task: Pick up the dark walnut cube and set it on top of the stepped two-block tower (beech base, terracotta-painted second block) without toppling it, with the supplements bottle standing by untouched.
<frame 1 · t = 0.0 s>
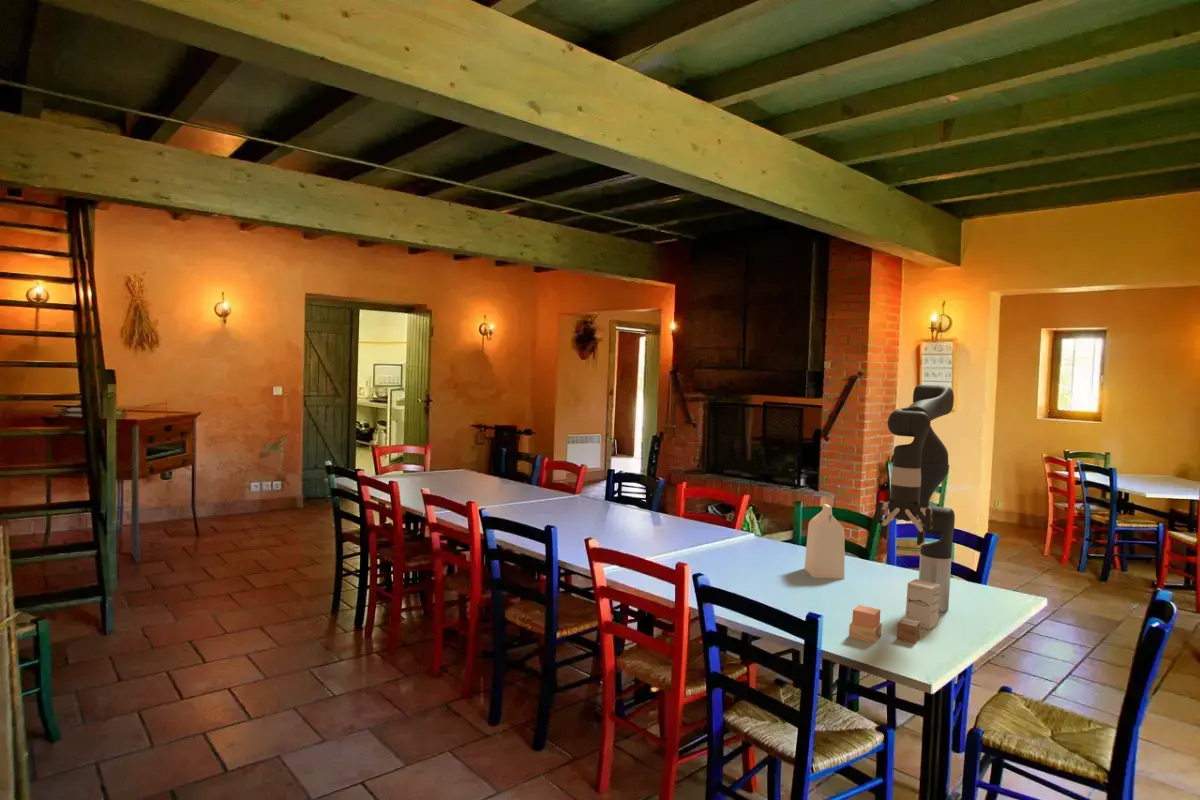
hand: (902, 542, 191), 29 cm above the table, fingers open, 8 cm apart
walnut cube: (908, 639, 199), on the table
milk: (824, 574, 264), on the table
supplement box: (921, 624, 212), on the table
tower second: (865, 623, 199), point 4 cm above the table, touching tower base
tower base: (865, 637, 200), on the table, touching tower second
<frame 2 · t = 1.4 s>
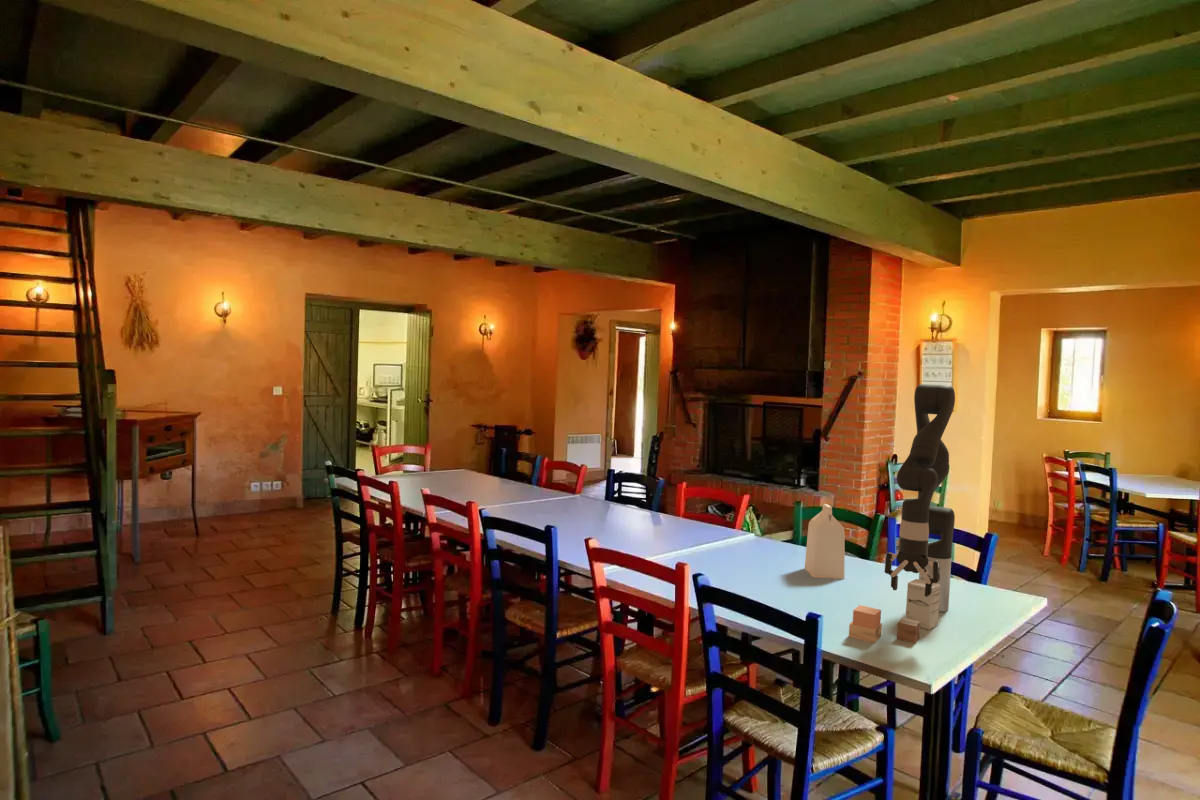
hand: (910, 592, 198), 13 cm above the table, fingers open, 8 cm apart
nothing on the table moved.
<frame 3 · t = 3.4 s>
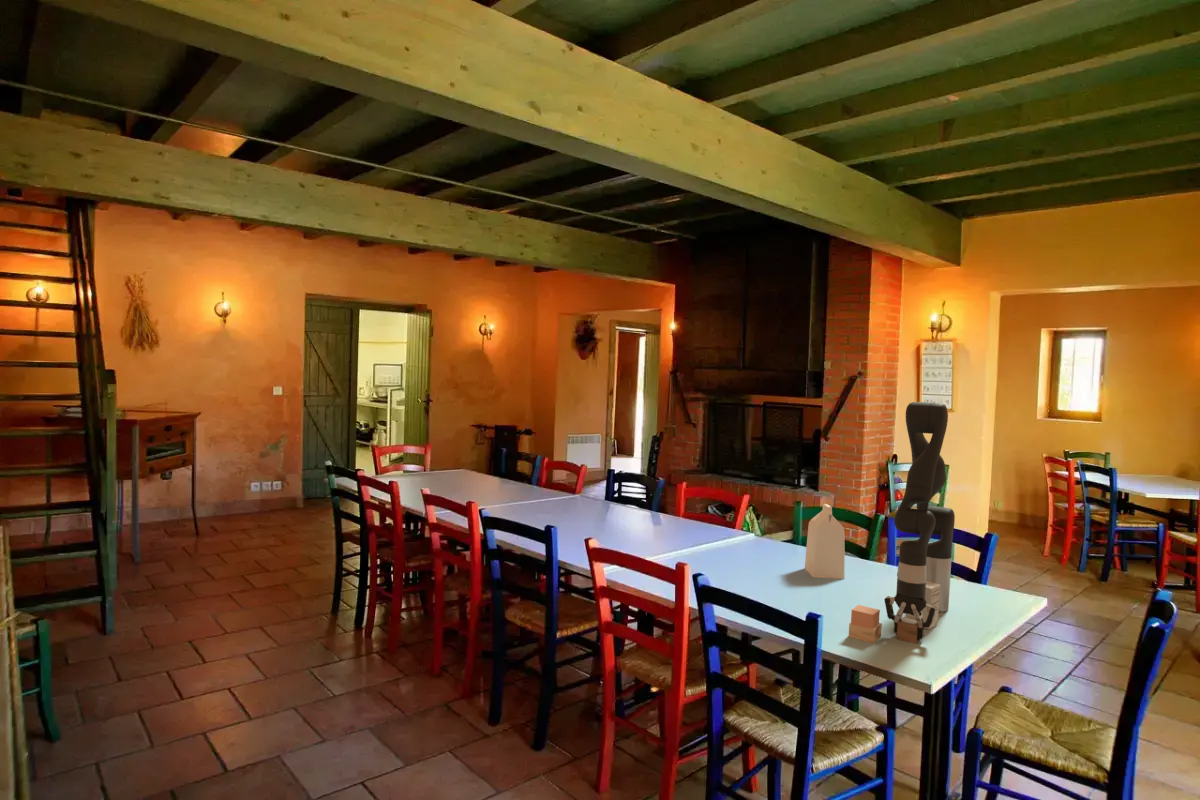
hand: (908, 637, 199), 0 cm above the table, fingers closed on walnut cube, 5 cm apart
walnut cube: (908, 638, 199), on the table, touching gripper
everything else where it was.
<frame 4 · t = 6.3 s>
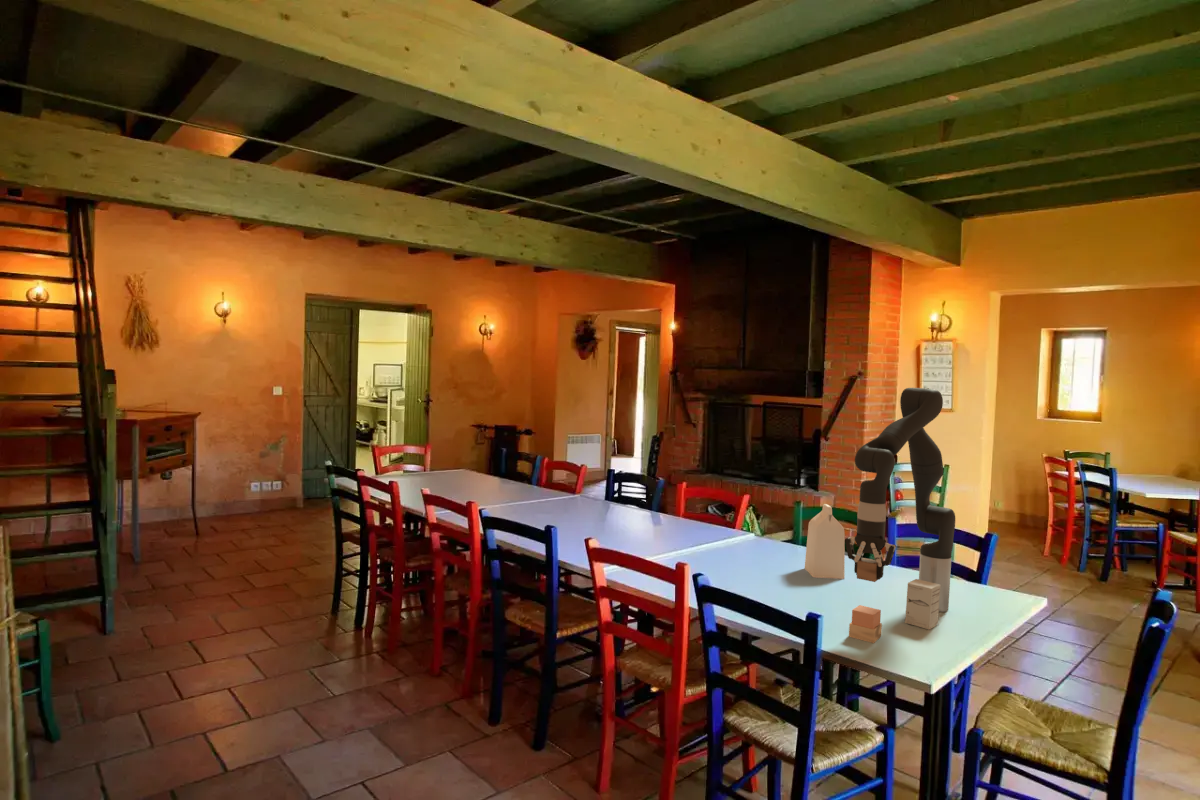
hand: (868, 576, 199), 17 cm above the table, fingers closed on walnut cube, 5 cm apart
walnut cube: (868, 578, 199), point 17 cm above the table, touching gripper
everything else where it was.
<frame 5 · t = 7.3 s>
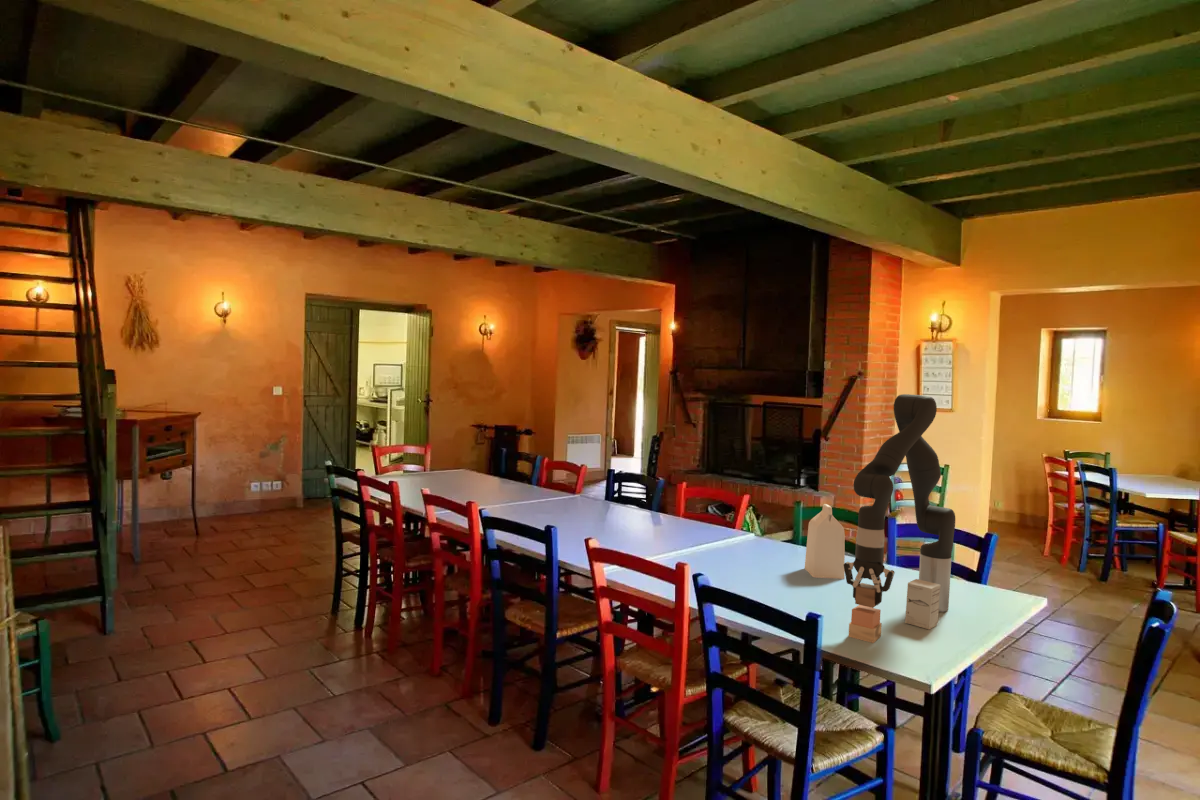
hand: (866, 601, 199), 10 cm above the table, fingers closed on walnut cube, 5 cm apart
walnut cube: (866, 603, 199), point 9 cm above the table, touching gripper
everything else where it was.
when the fingers open (9 cm above the table, at t = 7.8 s): walnut cube drops 1 cm, resting on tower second.
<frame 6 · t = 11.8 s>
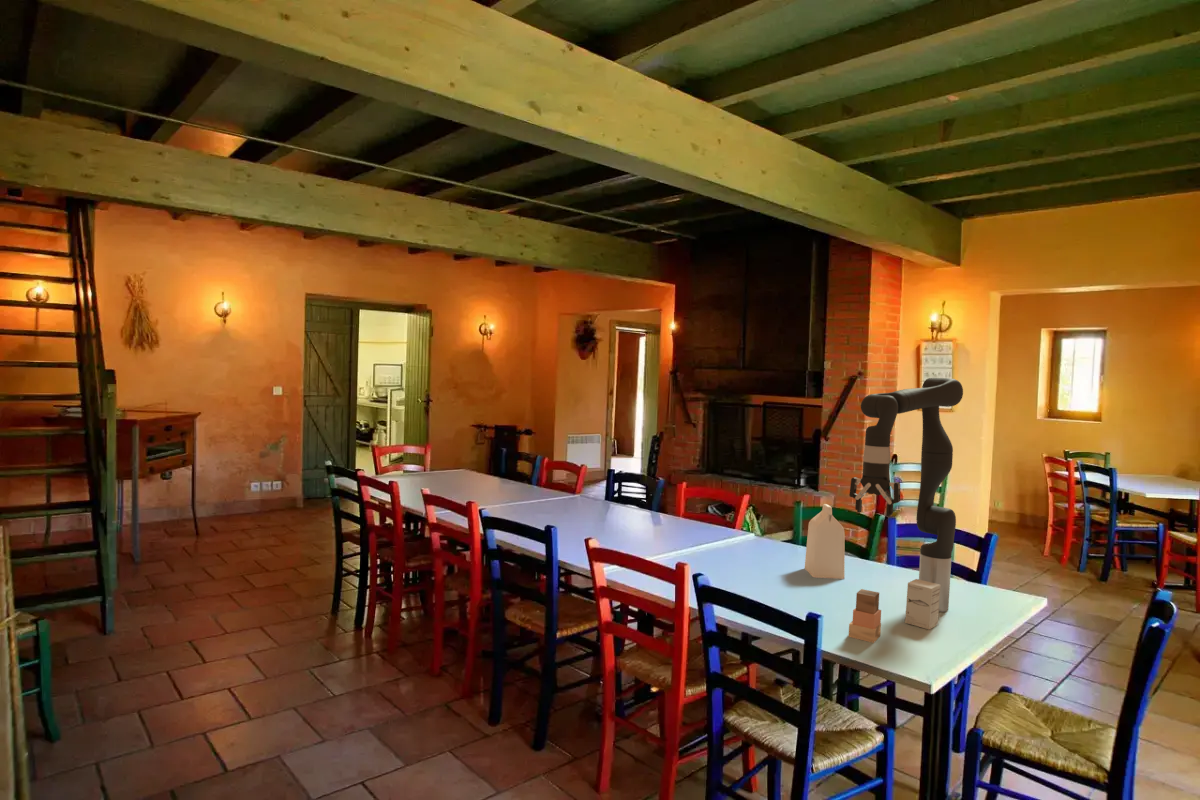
hand: (873, 514, 211), 33 cm above the table, fingers open, 8 cm apart
walnut cube: (867, 610, 199), point 8 cm above the table, touching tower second
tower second: (866, 623, 199), point 4 cm above the table, touching tower base, walnut cube
everything else where it was.
at the end: walnut cube 0.3 cm off-centre on the tower base, point 8.0 cm above the tower base's base; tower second tilted 0°; the gripper is holding nothing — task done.
